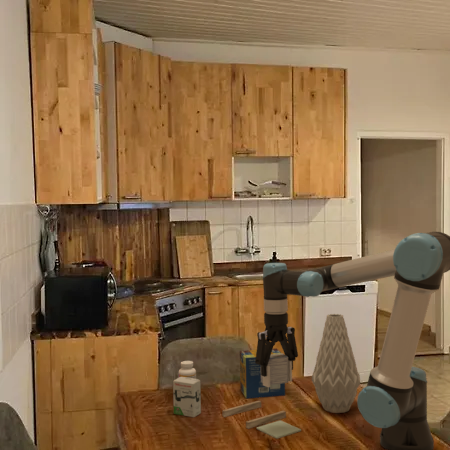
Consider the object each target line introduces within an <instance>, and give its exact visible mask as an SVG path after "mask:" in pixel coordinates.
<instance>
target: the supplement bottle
mask: <svg viewBox="0 0 450 450" xmlns="http://www.w3.org/2000/svg"><path fill="white" fill-rule="evenodd" d="M179 377H187V378H193V379H197V370H196V368H194V361H193V360H184V361H181V362H180V368H179V370H178V378H179Z"/></svg>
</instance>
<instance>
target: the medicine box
mask: <svg viewBox="0 0 450 450" xmlns="http://www.w3.org/2000/svg"><path fill="white" fill-rule="evenodd" d="M264 362H265V361H264ZM268 366H270V385H275V384H282V383H285V384H287V383H289V381H288V357H287V356H286V355H285V354H284V353H282V352H281V354H272V355H271V356H270V359H269V362H268ZM261 382H262V383H263V376H262V375H261Z"/></svg>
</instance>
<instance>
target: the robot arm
mask: <svg viewBox="0 0 450 450" xmlns="http://www.w3.org/2000/svg"><path fill="white" fill-rule="evenodd" d="M287 267H288V266H287V264H286V263H285V262H267V263H265V264H264V265H263V267H262V286H263V287H262V288H263V311H264V313H263V323H264V326H265V329H264V331H258V332H257V335H256V336H257V344H256V346H257V347H256V350H257V352H256V360H255V363H256V364H258V365H260V366H261V375H262V376H263V386H266V387H270V366H268V362H269V359H270V356H271V352H272V349H274V346H275V345H276V343H278V342H279V344H280V346H281V349H282V351H283V354H284V355H286V356H287V357H288V382H289V383H290V382H293V370H294V362H295V361H296V358H299V353H298V347H297V341H296V337H295V332H296V328H295V327H293V326H288V324H289V314H288V310H289V309H288V307H289V305H288V303H289V302H288V296H289V295H290V296H298V297H299V296H300V297H306V298H309V297H313V298H315V297H318V296H319V295H321V293H322V292H326V291H330V290H334V289H339V288H344V287H348V286H352V285H357V284H361V283H367V282H371V281H372V282H373V281H376V280H381V279H387V278H391V277H393V278H394V281H395V282H396V284H397V289H396V292H395V296H394V297H395V298H394V300H393V305H392V309H391V313H390V317H389V319H388V320H389V321H388V324H387V329H386V332H385V336H384V340H383V345H382V349H381V352H380V355H379V360H378V364H377V366H375V367H373V368H371V370H370V372H369V376H368V381H367V384H366V386H365V387H362V389H361V390H360V392H359V393H358V395H357V401H356V403H357V408H358V410H359V413H360V414H361V416H362V418H363V419H364V420H365V421H366V422H367V423H368V424H369V425H372V427H375V428H379V429H381V431H380V433H379V444H380V445H381V447H383V448H384V449H385V450H434V446H435V443H434V442H435V441H434V437H433V435H432V431H431V429H430V426H429V423H428V405H427V404H428V380H427V373H426V371H425V370H424V369H422V368H420V367H416V366H413V364H414V360H415V357H416V353H417V348H418V346H419V341H420V337H421V334H422V331H423V327H424V323H425V319H426V316H427V312H428V308H429V305H430V300H431V296H432V294H434V293H436V292H438V291H439V290H440V287H441V283H442V279H443V276H444V274H445V273H447V272H449V271H450V235H448V234H447V233H444V232H441V231H430V232H417V233H412V234H410V235H408V236H406V237H404V238H403V239H401V240H400V241H399V242H398V243H397V245H396V247H395V248H394V249H390V250H385V251H382V252H378V253H374V254H370V255H366V256H362V257H358V258H355V259H354V258H353V259H349V260H345V261H341V262H338V263H334V264H329V265H326V266H321V267H317V268H310V269H305V270H289V269H288V268H287ZM264 361H265V362H264Z"/></svg>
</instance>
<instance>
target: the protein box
mask: <svg viewBox="0 0 450 450" xmlns="http://www.w3.org/2000/svg"><path fill="white" fill-rule="evenodd" d="M256 352H257V349H253V350H252V349H251V350H239V377H240V378H239V379H240V381H239V384H240V386H239V387H240V389H239V390H240V391H241V393H242V394H243V396H244V398H245V399H257V398H259V397H260V398H272V397H284V396H286V383H282V384H275V385H270V387H266V386H263V383H262V382H261V366H260V365H258V364H256V363H255V360H256ZM281 353H282V352H281V351H280V350H279V349H278V348H273V349H272V352H271V355H272V354H281Z"/></svg>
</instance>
